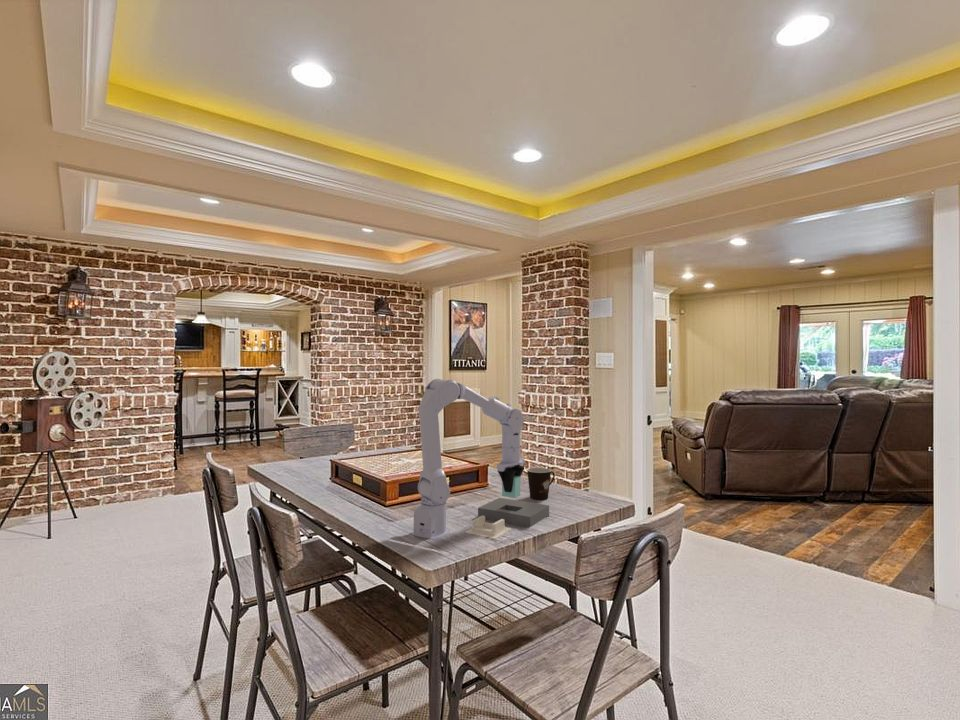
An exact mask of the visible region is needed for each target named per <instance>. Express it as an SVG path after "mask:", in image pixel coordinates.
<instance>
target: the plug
mask: <svg viewBox="0 0 960 720" xmlns="http://www.w3.org/2000/svg"><path fill="white" fill-rule="evenodd" d="M501 485H502V487H501V488H502V489H501V491H502V493H501V496H502V497H504V498H505V497H506V498H511V499H512V498H513V499H516V498H518V497H520V496H521V477H520V476H514V479H513V486H512V491H511V492H505V491H504V487H503V482H502V481H501Z"/></svg>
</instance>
